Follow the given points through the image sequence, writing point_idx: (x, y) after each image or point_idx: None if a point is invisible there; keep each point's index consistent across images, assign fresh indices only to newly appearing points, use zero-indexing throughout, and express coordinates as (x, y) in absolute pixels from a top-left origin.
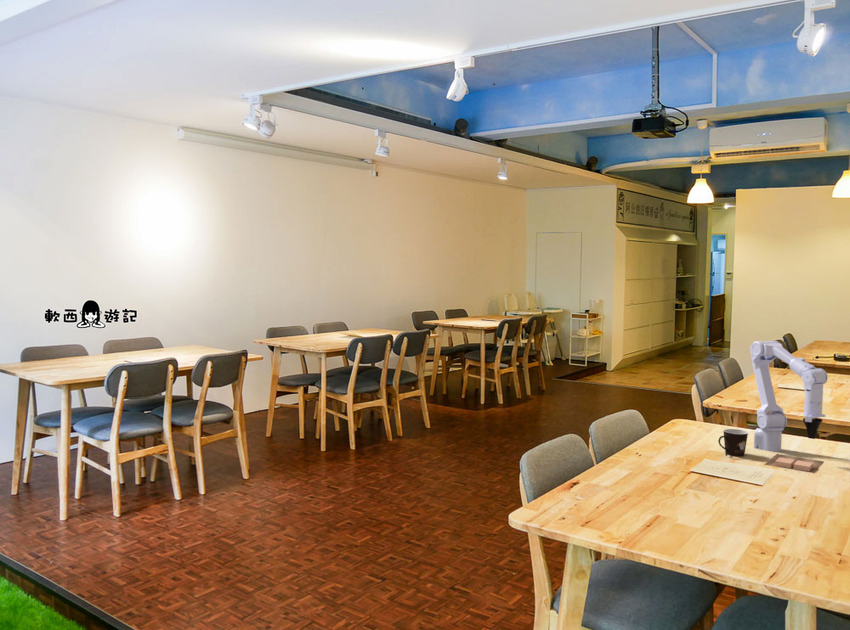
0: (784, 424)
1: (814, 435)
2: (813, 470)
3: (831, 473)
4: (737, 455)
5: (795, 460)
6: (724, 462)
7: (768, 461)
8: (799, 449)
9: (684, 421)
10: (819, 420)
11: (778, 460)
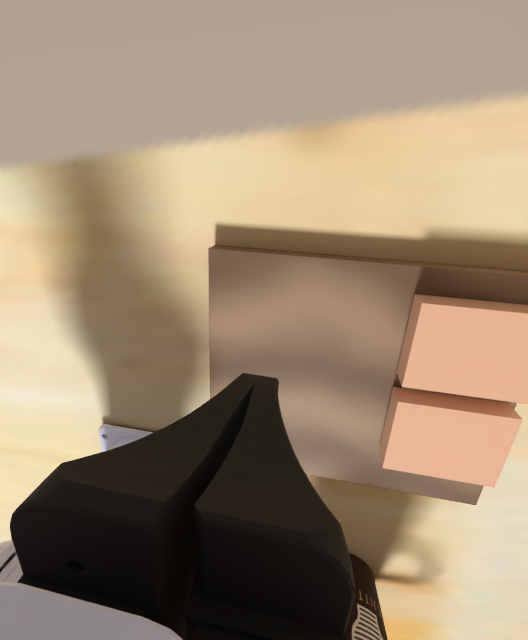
0: (11, 568)
1: (278, 402)
2: (489, 286)
3: (408, 184)
4: (374, 589)
5: (292, 383)
6: (454, 607)
7: (397, 488)
8: (9, 368)
9: None
10: (158, 542)
11: (471, 473)
